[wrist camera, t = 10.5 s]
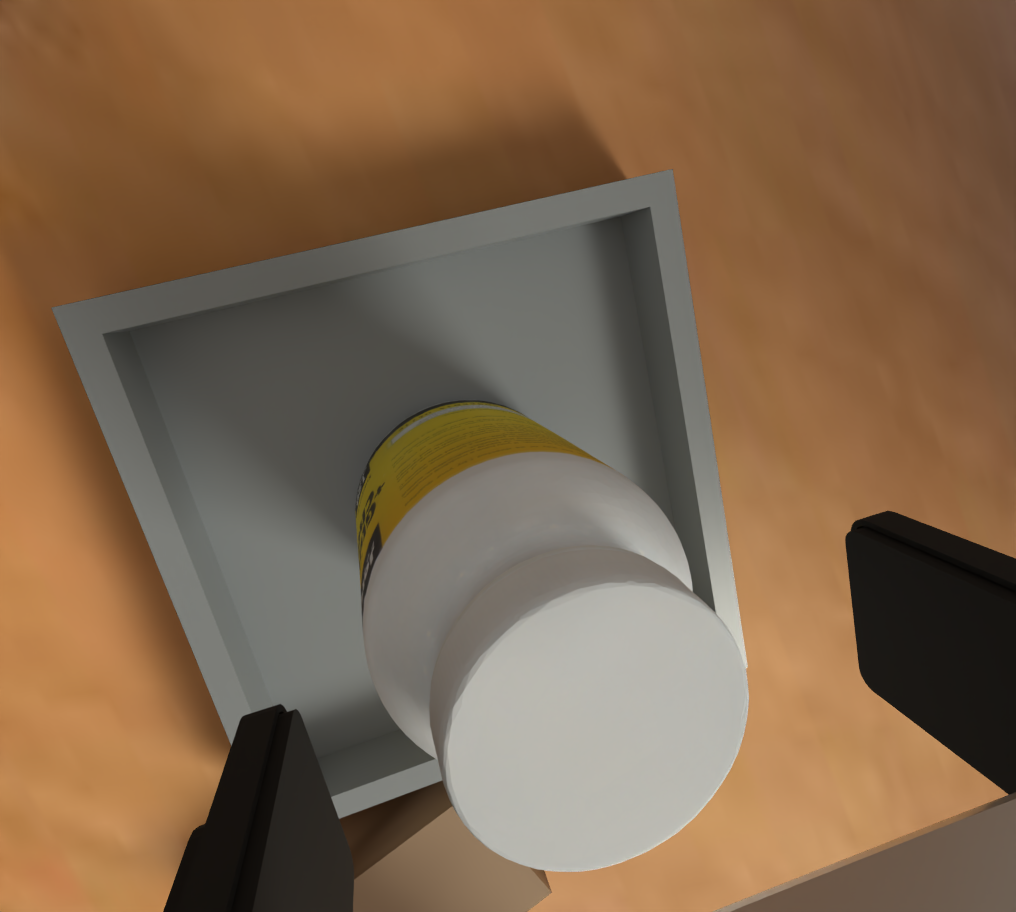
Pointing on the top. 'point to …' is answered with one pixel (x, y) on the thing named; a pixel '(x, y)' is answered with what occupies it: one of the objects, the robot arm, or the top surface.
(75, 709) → the top surface
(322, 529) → the tray
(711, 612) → the pill bottle
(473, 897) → the walnut block
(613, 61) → the top surface
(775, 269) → the top surface
